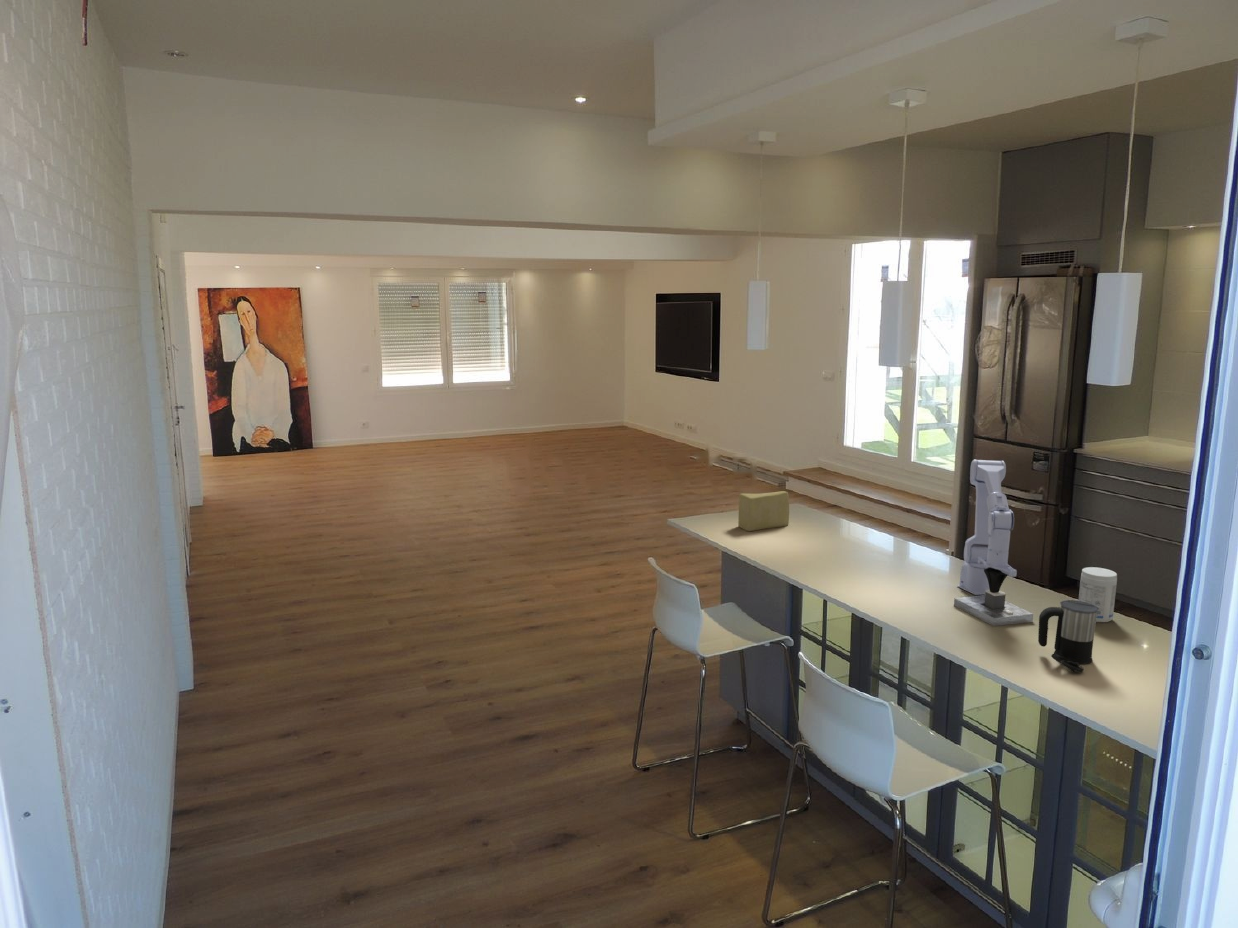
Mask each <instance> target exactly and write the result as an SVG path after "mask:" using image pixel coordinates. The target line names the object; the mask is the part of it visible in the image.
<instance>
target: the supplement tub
mask: <svg viewBox="0 0 1238 928" xmlns="http://www.w3.org/2000/svg"><path fill="white" fill-rule="evenodd" d="M1117 582H1118V573H1117V572H1115V571H1113V570H1111V569H1108V568H1102V567H1096V566H1095V567H1093V566H1089V567H1083V568H1082V569H1081V575H1080V582H1079V592H1078V593H1079V594H1078V600H1077V601H1082V602H1086V603H1090V604H1093V605H1095V606H1097V607H1098V608H1099V611H1097V617H1096V623H1108V622H1110V621H1112V620H1113V618H1114V611H1115V601H1116V592H1117V586H1118V585H1117V584H1118V583H1117Z"/></svg>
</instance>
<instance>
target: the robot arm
mask: <svg viewBox="0 0 1238 928" xmlns="http://www.w3.org/2000/svg"><path fill="white" fill-rule="evenodd" d="M969 470H970V471H969V475H970V476H969V480H970V484H971V485H973V486H975V494H976V495H975V512H974V513H975V515H974V517H975V519H974V535H972V536H971V537H969V538H967V539H966V540H965V542H964V548H963V561H964V563H963V564H962V565H961V568H960V575H959V576H960V577H959V584H957V585H956V587H958V588H960V589H961V590H964V591H966V592H967V593H968V592H969V593H971V594H972V595H973V596H974V595H975V596H980V595H985V590H990V592H992V593H997V592H999V590H1000V591H1001V587H1002V585H1003V583H1004V581H1005V579H1006V578H1007V577H1010V578H1013V577H1017V573H1018V571H1017V569H1015V568H1013V567H1012V566H1011V565H1009V563H1008V561H1009V551H1010V550H1009V549H1010V540H1011V531H1013V530H1014V526H1015V514H1014V512H1013V510H1012V509H1010V508H1009V503H1008V499H1007V495H1006V494H1005V493H1003V492H1002V481H1003V480H1004V479H1005V477H1006V473H1007V465H1006V462H1005V461H1004V460H988V459H987V460H985V459H973V460H972V461H971V462H970V469H969Z"/></svg>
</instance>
